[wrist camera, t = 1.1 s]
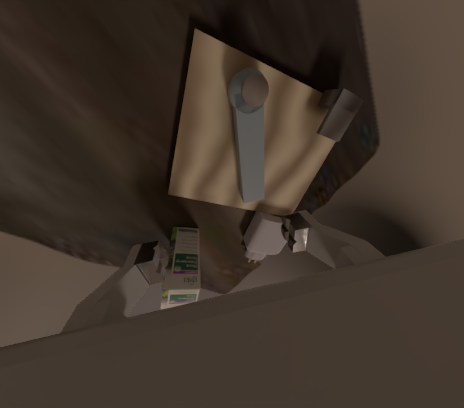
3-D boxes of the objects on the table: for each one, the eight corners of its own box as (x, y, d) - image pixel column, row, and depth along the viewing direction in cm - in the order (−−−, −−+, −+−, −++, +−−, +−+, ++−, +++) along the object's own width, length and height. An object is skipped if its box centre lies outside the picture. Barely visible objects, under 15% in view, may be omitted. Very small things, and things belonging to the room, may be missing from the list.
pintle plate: (169, 190, 32) (162, 211, 26) (195, 27, 21) (195, -2, 15) (287, 213, 40) (303, 233, 34) (349, 106, 29) (388, 107, 23)
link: (225, 72, 22) (228, 69, 20) (261, 68, 23) (267, 65, 21) (238, 197, 33) (241, 203, 31) (262, 192, 33) (267, 198, 31)
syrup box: (199, 227, 38) (201, 288, 25) (196, 246, 40) (195, 309, 28) (173, 225, 36) (161, 289, 24) (171, 245, 39) (159, 311, 27)
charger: (233, 253, 44) (256, 206, 38) (263, 256, 47) (289, 214, 41) (237, 268, 40) (263, 219, 34) (269, 271, 43) (299, 226, 37)
